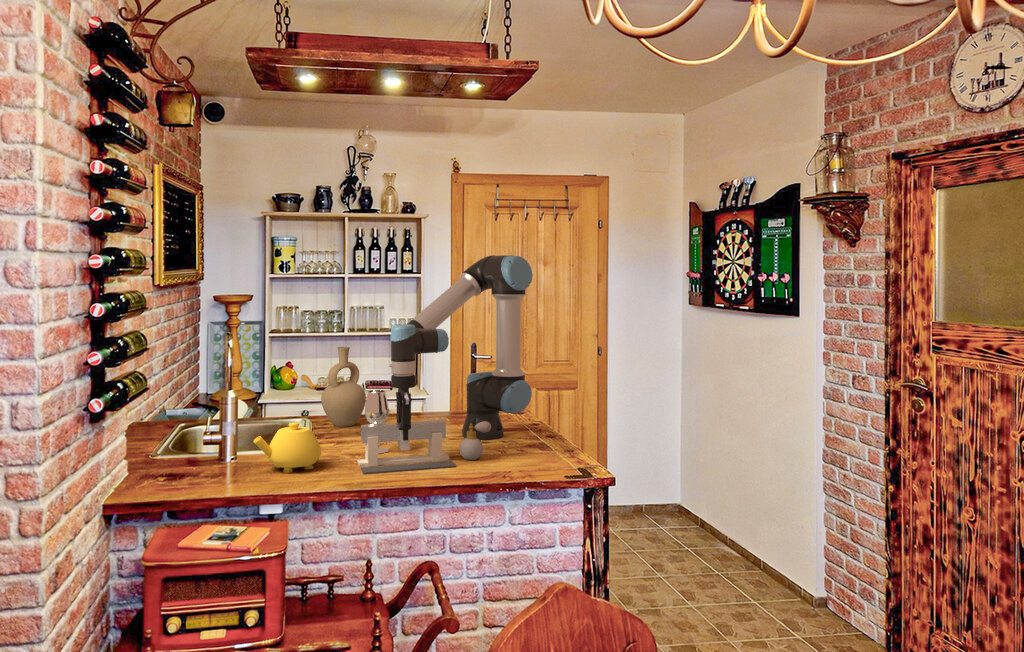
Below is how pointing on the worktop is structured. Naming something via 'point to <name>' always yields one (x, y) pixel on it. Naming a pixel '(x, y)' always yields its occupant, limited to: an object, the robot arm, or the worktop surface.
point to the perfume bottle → (473, 441)
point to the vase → (343, 394)
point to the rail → (392, 433)
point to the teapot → (291, 448)
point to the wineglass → (377, 410)
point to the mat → (407, 467)
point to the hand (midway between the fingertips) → (403, 448)
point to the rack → (433, 456)
